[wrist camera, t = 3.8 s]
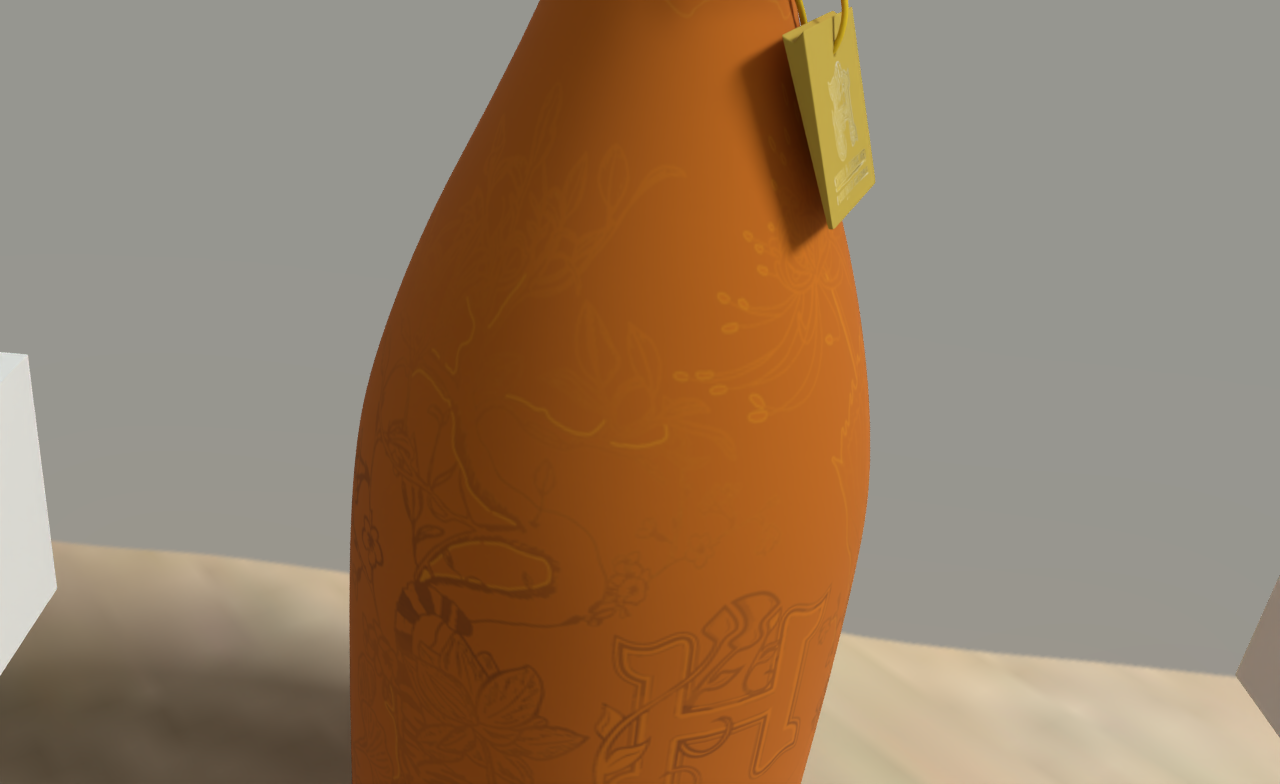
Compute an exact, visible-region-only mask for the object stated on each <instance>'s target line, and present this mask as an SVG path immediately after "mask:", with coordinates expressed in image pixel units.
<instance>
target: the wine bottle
mask: <svg viewBox="0 0 1280 784" xmlns="http://www.w3.org/2000/svg"><path fill="white" fill-rule="evenodd" d="M841 5H842V12H840V13H838V14H837V13H835V12H834V11H831V12H829V13H827V14H825V15H823V16H821V17H819V18H816V19H814V20H812V21H810V22H807V18H806V13H805V9H804V6H803V2H802V0H540V1H539V3H538V5H537V8H536V10H535V12H534V14H533V17H532V18H531V20H530V22H529V25H528V27H527V29H526V31H525V33H524V35H523V37H522V40H521V42H520V43H519V45H518V47H517V49H516V51H515V53H514V56H513V57H512V59H511V61H510V63H509V65H508V67H507V69H506V71H505V73H504V75H503V77H502V79H501V81H500V83H499V85H498V87H497V89H496V91H495V93H494V95H493V96H492V98H491V100H490V102H489V104H488V106H487V108H486V110H485V112H484V114H483V116H482V118H481V119H480V121H479V123H478V125H477V127H476V129H475V131H474V133H473V135H472V136H471V138H470V140H469V142H468V144H467V146H466V148H465V150H464V151H463V154H462V155H461V157H460V159H459V161H458V163H457V165H456V167H455V169H454V170H453V172H452V174H451V176H450V178H449V180H448V182H447V184H446V186H445V188H444V190H443V192H442V194H441V196H440V198H439V200H438V202H437V204H436V206H435V208H434V210H433V212H432V214H431V216H430V219H429V221H428V223H427V225H426V227H425V230H424V232H423V234H422V236H421V238H420V241H419V243H418V245H417V247H416V249H415V252H414V254H413V256H412V259H411V261H410V264H409V266H408V268H407V271H406V273H405V276H404V278H403V281H402V284H401V286H400V289H399V291H398V294H397V296H396V299H395V302H394V304H393V307H392V310H391V312H390V315H389V318H388V321H387V324H386V327H385V329H384V332H383V336H382V338H381V341H380V344H379V348H378V351H377V354H376V357H375V360H374V364H373V367H372V371H371V375H370V379H369V383H368V386H367V390H366V395H365V399H364V404H363V409H362V414H361V420H360V426H359V433H358V440H357V449H356V458H355V468H354V481H353V495H352V514H351V541H350V710H351V754H352V784H801V780H802V777H803V773H804V770H805V766H806V763H807V759H808V755H809V752H810V748H811V744H812V741H813V737H814V733H815V730H816V726H817V722H818V719H819V715H820V711H821V707H822V704H823V700H824V696H825V692H826V689H827V685H828V681H829V677H830V673H831V669H832V665H833V661H834V657H835V653H836V649H837V646H838V642H839V637H840V633H841V629H842V625H843V621H844V617H845V613H846V608H847V604H848V600H849V596H850V591H851V587H852V582H853V578H854V573H855V569H856V563H857V559H858V554H859V549H860V544H861V539H862V533H863V527H864V521H865V514H866V507H867V497H868V486H869V470H870V416H869V395H868V381H867V370H866V360H865V351H864V342H863V334H862V326H861V319H860V312H859V305H858V299H857V293H856V287H855V281H854V276H853V270H852V265H851V260H850V254H849V250H848V245H847V241H846V236H845V231H844V227H843V223H842V220H843V219H844V218H845V216H846V215H847V214H848V213H849V212H850V211H851V210H852V208H853V207H854V206H855V205H856V204H857V203H858V202H859V201H860V200H861V198H862V197H863V196H864V195H865V194H866V193H867V192H868V190H869V189H870V188H871V187H872V186H873V185H874V184H875V175H874V167H873V160H872V152H871V145H870V137H869V130H868V124H867V115H866V108H865V100H864V93H863V86H862V78H861V71H860V63H859V56H858V48H857V41H856V33H855V26H854V18H853V11H852V7H850V8H848V0H841ZM797 9H798V10H797ZM798 13H799V17H800V22H801V26H800V23H799V17H798Z"/></svg>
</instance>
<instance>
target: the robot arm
mask: <svg viewBox="0 0 1280 784" xmlns="http://www.w3.org/2000/svg"><path fill="white" fill-rule="evenodd" d="M56 589H57V584H56V576H55V568H54V560H53V552H52V544H51V537H50V529H49V520H48V513H47V505H46V497H45V489H44V481H43V473H42V465H41V457H40V449H39V441H38V433H37V425H36V417H35V409H34V402H33V393H32V386H31V378H30V370H29V362H28V355H27V354H15V353H4V352H0V675H1V674H2V672H3V671H4V669H5V667H6V666H7V664H8V663H9V661H10V660H11V658H12V657H13V655H14V654H15V652H16V651H17V649H18V648H19V646H20V644H21V643H22V641H23V640H24V638H25V637H26V635H27V634H28V632H29V631H30V629H31V628H32V626H33V625H34V623H35V622H36V620H37V618H38V617H39V615H40V614H41V612H42V611H43V609H44V608H45V606H46V605H47V603H48V602H49V600H50V599H51V597H52V596H53V594H54V592H55V591H56ZM1236 677H1237V678H1238V680H1239V681H1240V682H1241V684H1242V685H1243V687H1244V688H1245V689H1246V691H1247V692H1248V694H1249V695H1250V696H1251V698H1252V699H1253V701H1254V702H1255V703H1256V705H1257V706H1258V708H1259V709H1260V710H1261V712H1262V713H1263V715H1264V716H1265V718H1266V719H1267V720H1268V722H1269V723H1270V725H1271V726H1272V727H1273V729H1274V730H1275V732H1276V733H1277V734H1278V736H1279V737H1280V576H1279V578H1278V580H1277V583H1276V585H1275V587H1274V589H1273V591H1272V594H1271V596H1270V598H1269V600H1268V603H1267V605H1266V607H1265V609H1264V612H1263V614H1262V616H1261V618H1260V621H1259V623H1258V625H1257V627H1256V630H1255V632H1254V634H1253V636H1252V638H1251V641H1250V643H1249V645H1248V647H1247V650H1246V652H1245V654H1244V657H1243V659H1242V661H1241V663H1240V665H1239V667H1238V670H1237V672H1236Z"/></svg>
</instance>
